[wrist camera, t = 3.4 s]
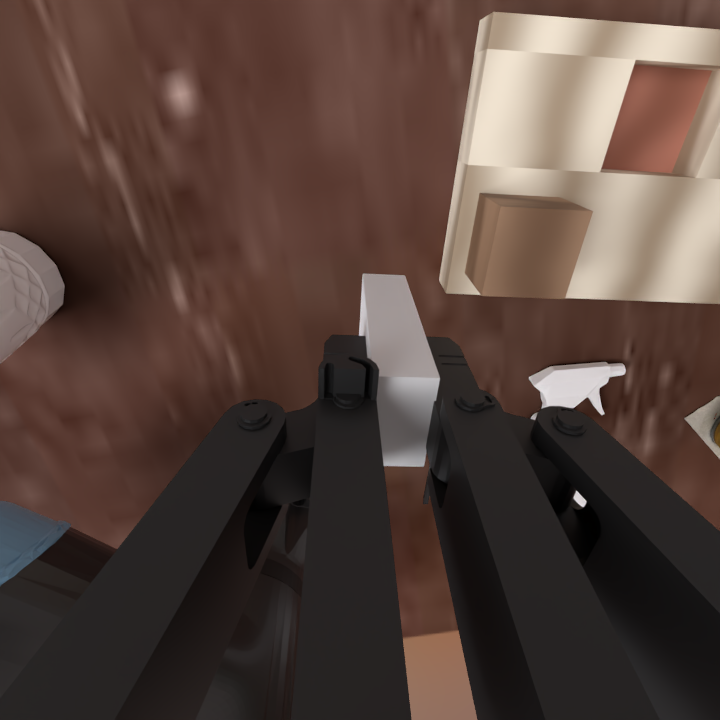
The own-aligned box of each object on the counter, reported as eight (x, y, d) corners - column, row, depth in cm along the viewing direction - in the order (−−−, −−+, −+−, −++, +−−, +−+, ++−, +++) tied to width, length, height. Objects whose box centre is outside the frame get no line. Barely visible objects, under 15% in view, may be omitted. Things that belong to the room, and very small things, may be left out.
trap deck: (438, 280, 31) (446, 293, 29) (479, 20, 23) (493, 11, 21) (821, 295, 33) (855, 309, 31) (977, 58, 25) (1036, 54, 23)
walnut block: (464, 272, 28) (481, 295, 25) (479, 192, 26) (500, 206, 22) (537, 275, 28) (564, 299, 25) (559, 197, 26) (593, 211, 22)
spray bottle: (476, 547, 48) (502, 360, 36) (572, 541, 48) (631, 352, 36) (484, 572, 46) (514, 379, 33) (585, 565, 46) (653, 371, 33)
